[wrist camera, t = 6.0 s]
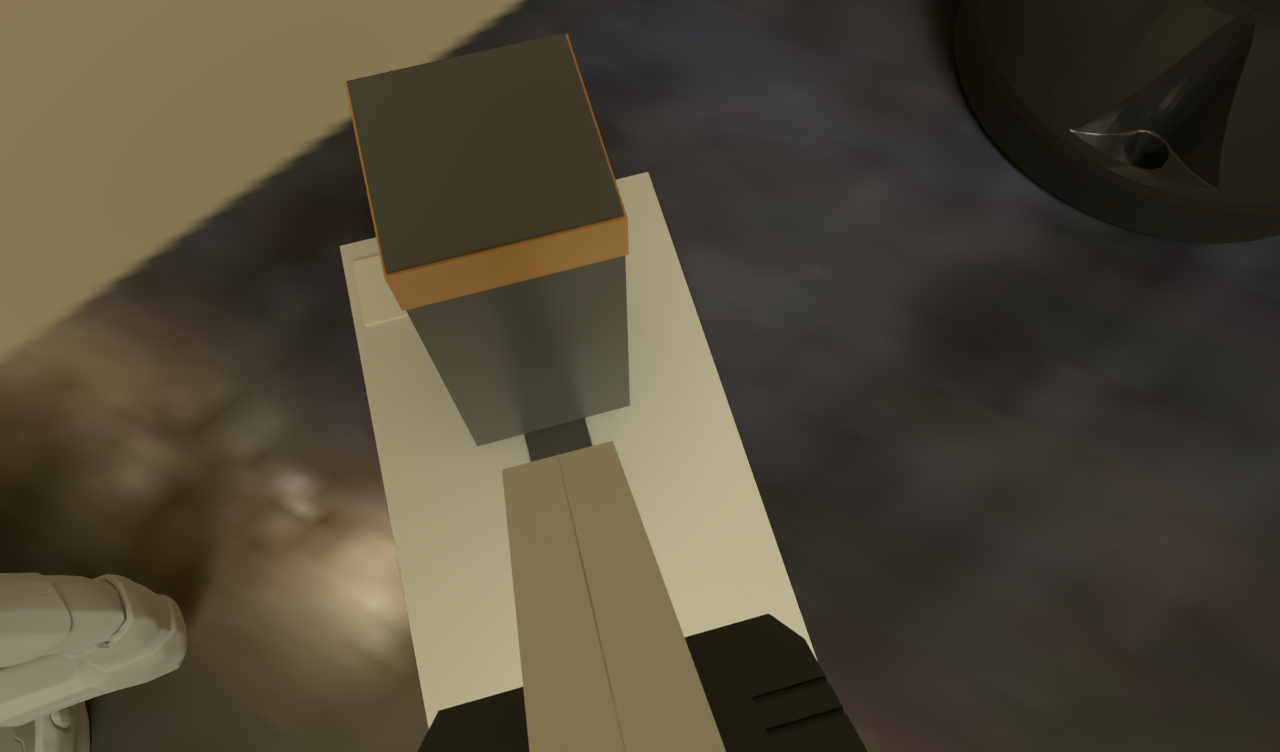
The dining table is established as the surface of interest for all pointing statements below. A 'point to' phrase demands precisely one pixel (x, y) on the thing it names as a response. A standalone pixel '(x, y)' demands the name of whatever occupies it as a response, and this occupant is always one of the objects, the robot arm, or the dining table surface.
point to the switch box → (642, 434)
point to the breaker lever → (501, 231)
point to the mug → (76, 652)
